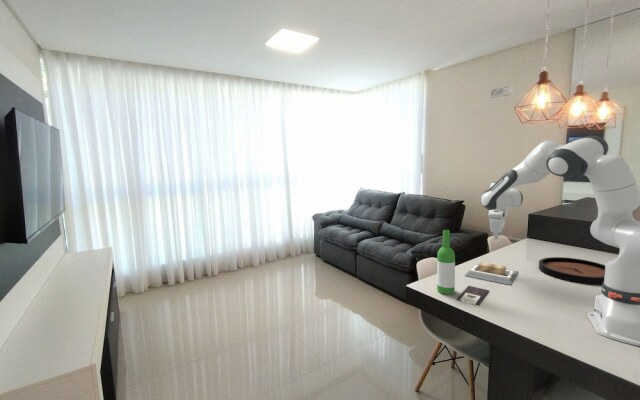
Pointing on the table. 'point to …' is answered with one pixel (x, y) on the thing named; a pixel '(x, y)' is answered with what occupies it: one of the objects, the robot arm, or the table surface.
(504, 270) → the tan wooden bar
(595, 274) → the wall clock
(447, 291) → the wine bottle
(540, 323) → the table surface
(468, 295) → the chocolate bar
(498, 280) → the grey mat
